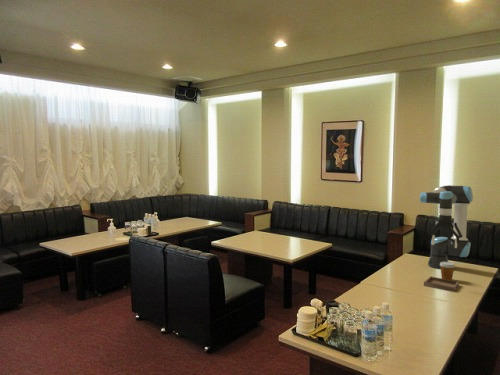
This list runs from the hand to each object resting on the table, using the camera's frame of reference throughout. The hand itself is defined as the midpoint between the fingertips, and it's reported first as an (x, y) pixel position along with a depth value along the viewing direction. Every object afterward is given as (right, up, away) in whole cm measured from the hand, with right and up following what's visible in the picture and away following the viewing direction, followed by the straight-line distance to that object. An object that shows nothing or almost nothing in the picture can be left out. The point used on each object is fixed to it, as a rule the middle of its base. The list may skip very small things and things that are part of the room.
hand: (444, 246), depth 237 cm
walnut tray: (0, -27, +3) cm, 27 cm away
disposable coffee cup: (+10, -27, +15) cm, 32 cm away
